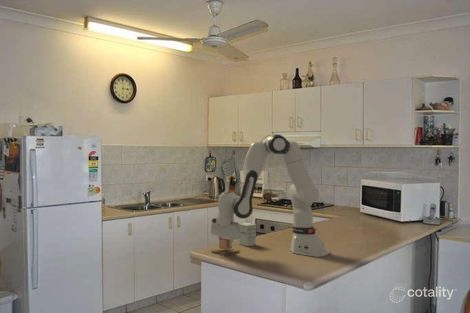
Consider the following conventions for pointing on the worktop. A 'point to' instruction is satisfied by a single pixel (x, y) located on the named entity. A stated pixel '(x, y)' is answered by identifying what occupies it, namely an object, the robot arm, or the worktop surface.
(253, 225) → the supplement box
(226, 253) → the walnut board
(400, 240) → the worktop surface
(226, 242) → the terracotta cube
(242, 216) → the robot arm
